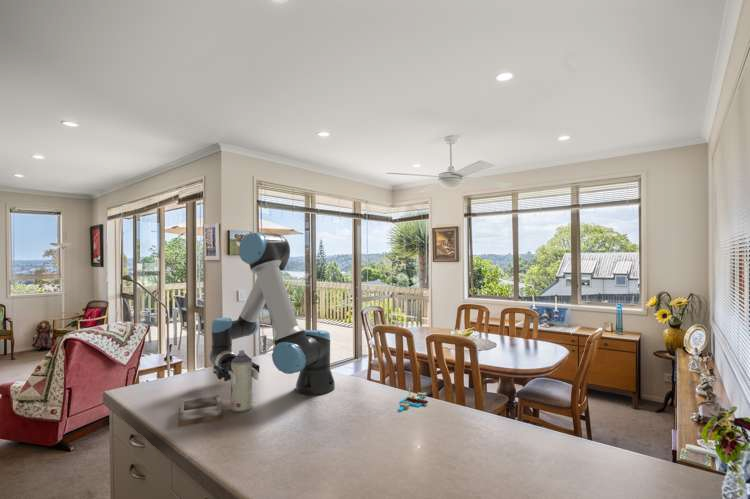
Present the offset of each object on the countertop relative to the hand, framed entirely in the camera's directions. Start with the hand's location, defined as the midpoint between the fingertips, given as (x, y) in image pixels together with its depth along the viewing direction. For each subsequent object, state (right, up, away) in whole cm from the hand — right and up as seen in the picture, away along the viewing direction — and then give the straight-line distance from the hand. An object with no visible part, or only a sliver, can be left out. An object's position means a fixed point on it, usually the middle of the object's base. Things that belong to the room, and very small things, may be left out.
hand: (246, 377), depth 135 cm
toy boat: (+57, -13, +9) cm, 60 cm away
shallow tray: (-15, -12, -1) cm, 19 cm away
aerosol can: (-3, -12, +4) cm, 13 cm away
